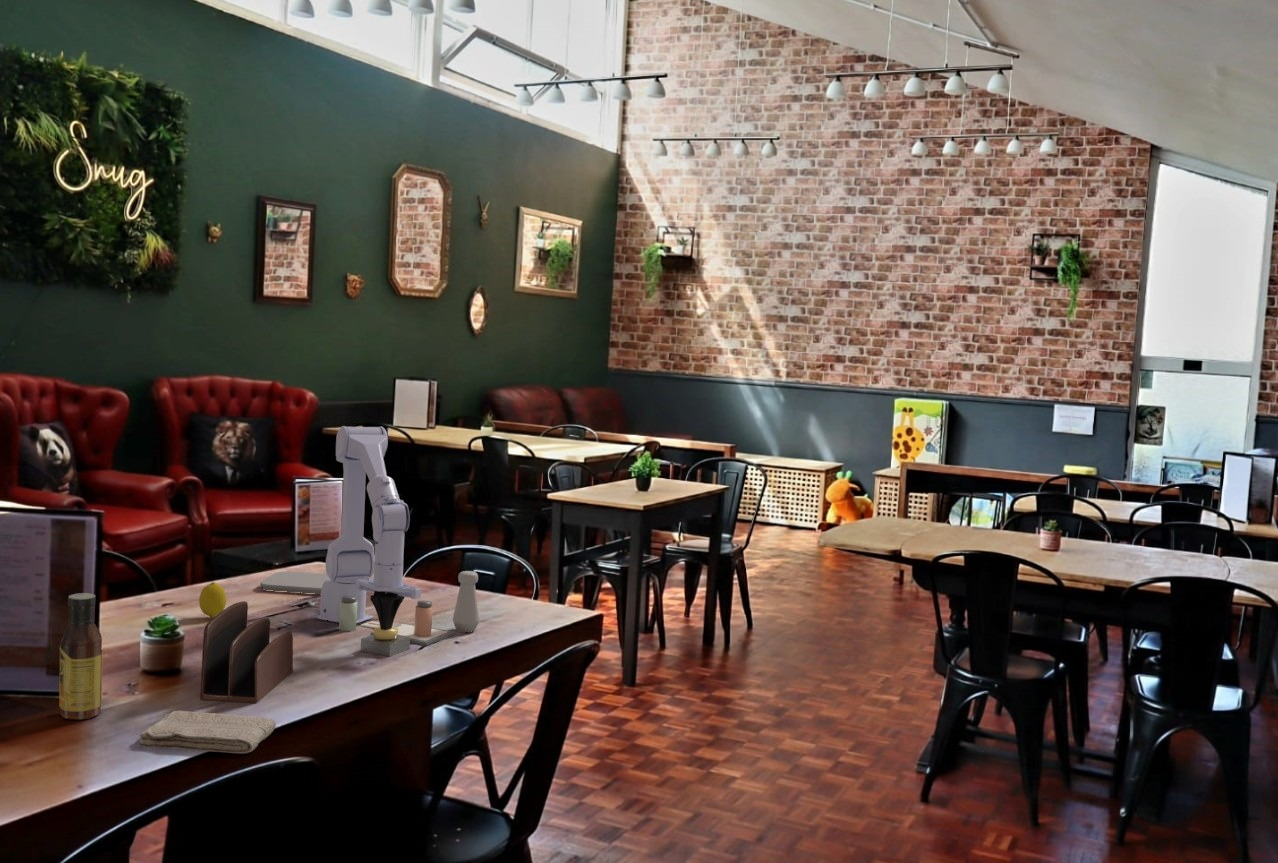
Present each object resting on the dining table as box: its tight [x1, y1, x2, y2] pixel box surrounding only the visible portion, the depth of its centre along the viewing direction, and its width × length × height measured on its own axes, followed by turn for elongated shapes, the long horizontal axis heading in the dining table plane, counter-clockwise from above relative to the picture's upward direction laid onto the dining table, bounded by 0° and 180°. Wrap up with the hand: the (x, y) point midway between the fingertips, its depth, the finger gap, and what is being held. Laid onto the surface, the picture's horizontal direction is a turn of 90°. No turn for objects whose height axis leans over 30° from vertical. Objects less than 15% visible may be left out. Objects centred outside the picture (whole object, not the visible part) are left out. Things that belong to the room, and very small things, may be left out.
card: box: [360, 620, 380, 629], centre depth 258 cm, size 5×4×1 cm
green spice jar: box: [338, 596, 358, 632], centre depth 253 cm, size 4×4×7 cm
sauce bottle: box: [58, 592, 103, 721], centre depth 189 cm, size 7×6×20 cm
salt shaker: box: [452, 570, 480, 633], centre depth 258 cm, size 6×6×13 cm
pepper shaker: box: [413, 600, 434, 637], centre depth 249 cm, size 4×4×7 cm
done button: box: [373, 626, 398, 640], centre depth 239 cm, size 5×5×4 cm
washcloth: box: [138, 710, 277, 754], centre depth 184 cm, size 12×18×3 cm, turn 88°
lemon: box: [198, 582, 227, 619], centre depth 256 cm, size 6×6×8 cm
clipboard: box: [370, 621, 456, 646], centre depth 252 cm, size 14×11×1 cm
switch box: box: [360, 634, 411, 657], centre depth 239 cm, size 7×7×2 cm
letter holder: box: [199, 600, 294, 704], centre depth 211 cm, size 10×20×14 cm, turn 179°
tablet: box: [259, 571, 374, 594], centre depth 291 cm, size 16×26×2 cm, turn 88°
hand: (386, 628), depth 239 cm, fingers closed, pressing on done button
